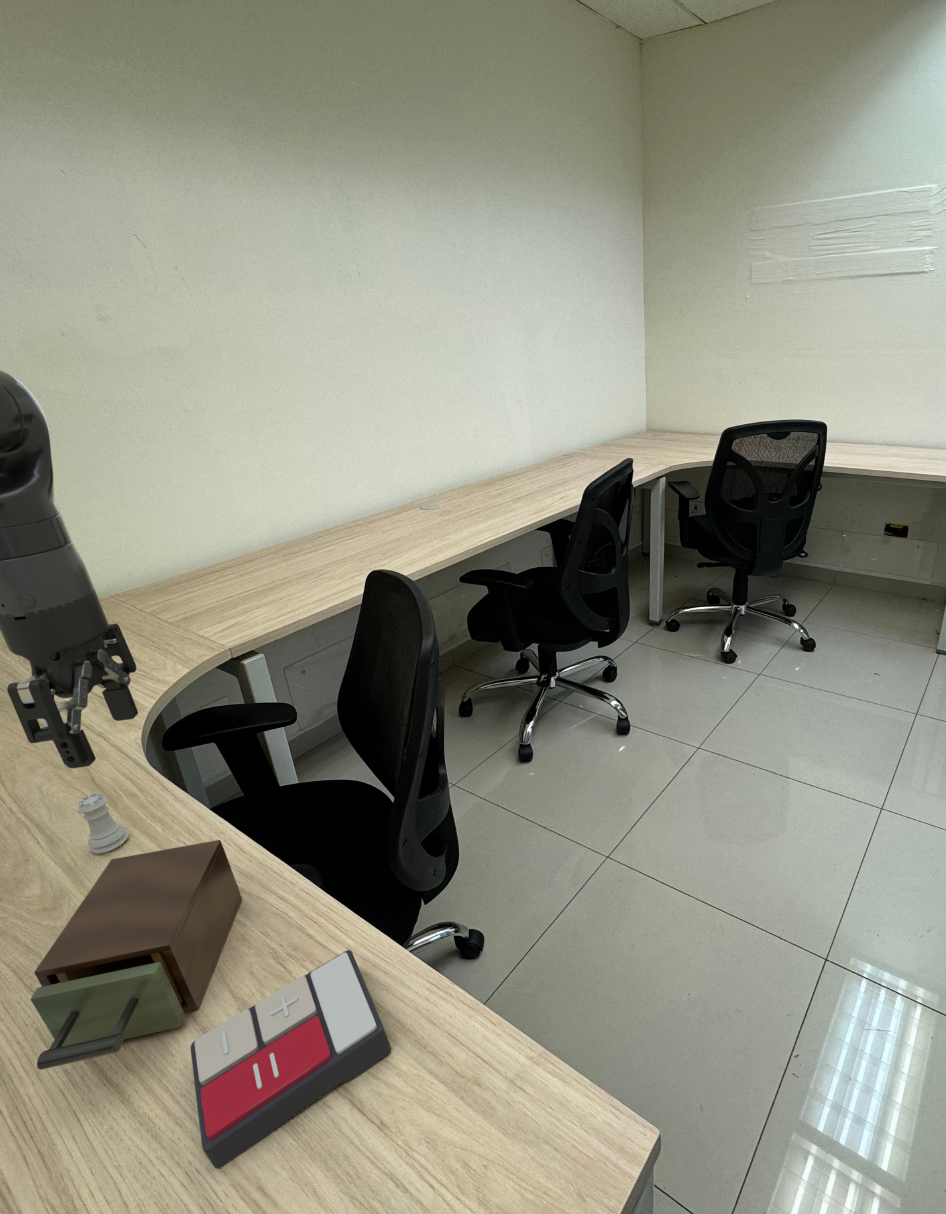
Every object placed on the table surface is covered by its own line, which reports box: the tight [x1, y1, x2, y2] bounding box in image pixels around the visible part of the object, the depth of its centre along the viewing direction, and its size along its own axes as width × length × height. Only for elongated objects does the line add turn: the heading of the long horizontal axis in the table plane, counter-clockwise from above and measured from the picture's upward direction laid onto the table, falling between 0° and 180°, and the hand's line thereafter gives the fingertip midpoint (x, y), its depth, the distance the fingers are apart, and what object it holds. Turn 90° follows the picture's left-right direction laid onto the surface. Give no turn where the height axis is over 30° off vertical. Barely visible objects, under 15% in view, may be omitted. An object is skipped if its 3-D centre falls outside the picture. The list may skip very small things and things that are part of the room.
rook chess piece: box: [77, 792, 130, 855], centre depth 86 cm, size 4×4×8 cm
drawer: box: [30, 952, 186, 1071], centre depth 63 cm, size 18×10×8 cm, turn 13°
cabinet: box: [33, 839, 243, 1014], centre depth 68 cm, size 15×12×10 cm
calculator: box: [190, 949, 392, 1169], centre depth 59 cm, size 11×4×15 cm
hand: (106, 740), depth 64 cm, fingers open, 8 cm apart
